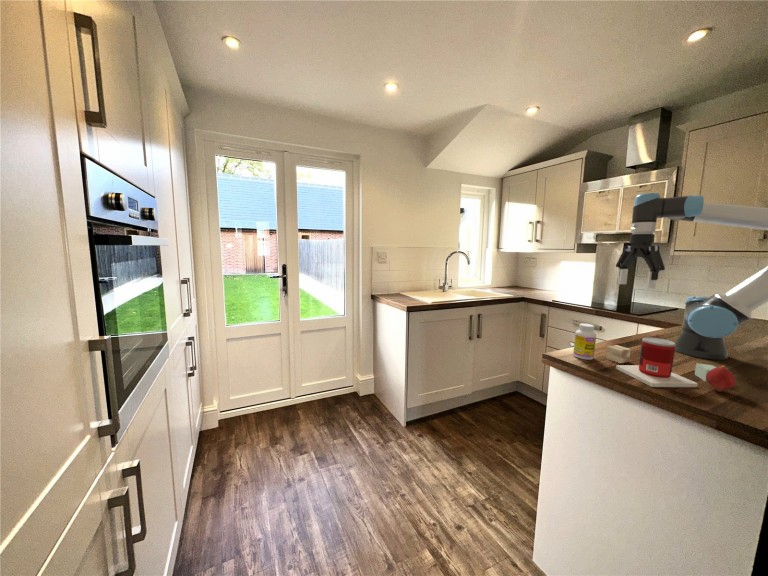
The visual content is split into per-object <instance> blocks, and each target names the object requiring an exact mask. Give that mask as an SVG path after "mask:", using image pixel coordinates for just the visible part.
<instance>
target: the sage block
mask: <svg viewBox="0 0 768 576" xmlns="http://www.w3.org/2000/svg"><path fill="white" fill-rule="evenodd" d="M714 368H717V367H716V366H714V365H713V364H707V363H706V364H704V363H696V364H695V369H694V375H695V376H696V377H698V378H699V379H701V380H702V381H704V382H706V383H708V382H707V380H706V374H707V373H708V372H709V371H710V370H712V369H714Z"/></svg>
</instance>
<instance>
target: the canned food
mask: <svg viewBox="0 0 768 576" xmlns="http://www.w3.org/2000/svg"><path fill="white" fill-rule="evenodd" d="M675 351H676V350H675V342H674V341H671V340H668V339H663V338H659V337H658V338H657V337H649V336H648V337H642V339H641V346H640V353H639V354H640V355H639V362H638V365H639V370H640V371H641V372H642V373H644V374H647V375H650V376H654V377H660V378H668V377H670V376H671V372H672V371H673V366H674V365H673V364H674V359H675ZM672 373H673V372H672Z"/></svg>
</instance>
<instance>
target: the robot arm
mask: <svg viewBox="0 0 768 576" xmlns="http://www.w3.org/2000/svg"><path fill="white" fill-rule="evenodd" d="M663 218H665V219H666V218H667V219H669V220H671V221H677V222H678V221H683V222H694V223H702V224H709V225H710V224H712V225H720V226H727V227H728V226H729V227H737V228H746V229H752V230H753V229H755V230H761V231H768V207H761V206H760V207H759V206H748V205H737V204H725V203H715V202H714V203H713V202H705V198H704V196H703V195H699V194H698V195H683V196H673V197H661V195H660V193H659V192H647V193H640V194H638V195H636V196H635V198H634V203H633V207H632V218H631V227H630V228H631V229H630V233H631V234H630V236H629V241H628V242H629V243H628V244H631V245H624V246H623V250H622V253H621V255H620V257H619V258H618V260H617V261H616V262H617V263H616V264H615V267H616V268H618V269H619V273H618V276H619V279H618V285H627V281H628V274H629V273H628V272H629V266H630V265H631V263H633V261H634V260H635V259H637V258H642V259H643V260H644V262H645V263H646V265H647V267H648V268H649V271H648V274H647V283H646V289H656V285H657V281H658V279H659V273H660V272H661V271H665V269H666V268H665V267H666V266H665V264H664V261H663V258H662V255H661V253H660V245H653V244H654V243H655V233H656V230H657V220H658V219H663ZM767 302H768V264H767V265H766V266H763V268H761V269H759V270H758V271H757V272H754V273H753V274H752V275H750V276H748V277H747V278H746V279H744V280H742V281H741V282H740V283H738V284H737V285H735V286H734V287H732V288H731V289H729V290H727V291H726V292H724V293H714V294H713V295H711V296H709V297H708V296H706V297H705V296H693V295H692V296H688V297H687V298H686V301H685V303H684V304H685V307H684V313H683V314H684V315H683V320H682V327H681V328H682V329H681V332H680V334H679V335H678V337H677V339H676V341H675V342H674V343H675V351H676V352H678V353H680V354H684V355H687V356H692V357H697V358H702V359H707V360H715V361H716V360H718V361H719V360H720V361H721V360H722V361H723V360H727V359H728V355H729V352H728V350H727V346H726V342H725V337H727V336H730V335H732V334H733V333H734V332H735V331H736V330H737V329H738V327H739V326H740V325H742V324H743V323H745V322H747V321H748V320H750V319H752V312H753V311H754V310H756V309H758V308H760V307H761V306H763V305H764V304H766V303H767Z"/></svg>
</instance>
